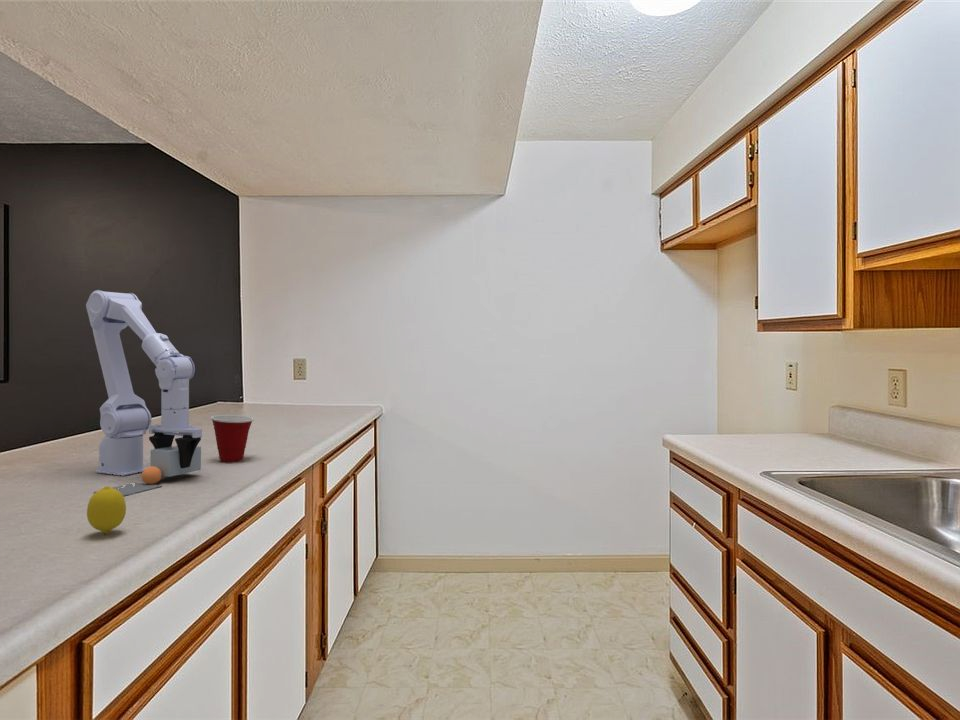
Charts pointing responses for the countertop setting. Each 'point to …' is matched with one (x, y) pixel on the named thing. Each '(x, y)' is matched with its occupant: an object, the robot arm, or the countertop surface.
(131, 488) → the thin grey panel
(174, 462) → the pale grey rectangular box
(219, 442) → the plastic cup
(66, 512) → the countertop surface
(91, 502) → the lemon
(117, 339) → the robot arm
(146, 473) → the ball
